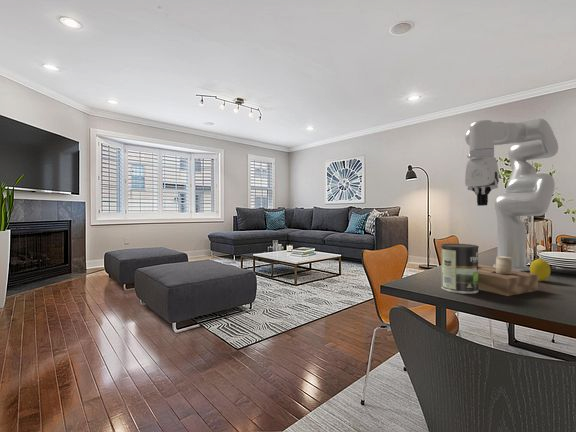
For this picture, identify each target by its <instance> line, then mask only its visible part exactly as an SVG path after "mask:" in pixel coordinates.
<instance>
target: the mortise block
mask: <svg viewBox="0 0 576 432" xmlns="http://www.w3.org/2000/svg"><path fill="white" fill-rule="evenodd" d="M538 282H539V281H538V274H532V273H530V272H527V271H514V270H512V275H508V276H506V275H501V274H496V267H493V266H489V265H483V264H478V290H480V291H485V292H490V293H493V294H498V295H502V296H506V297H509V296H510V297H511V296H515V295H521V294H526V293H533V292H537V291H538V289H539V288H538V287H539V286H538V285H539V284H538Z"/></svg>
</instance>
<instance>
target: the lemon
mask: <svg viewBox="0 0 576 432" xmlns="http://www.w3.org/2000/svg"><path fill="white" fill-rule="evenodd" d="M529 267H530V271H529V273H532V274H538V282H542V281H544V280H547V279H548V278H549V277H550V275H551V271H552V270H551V266H550V264H549V262H548V261H546V260H544V259H542V258H541V257H538V258H537V259H534V260H532V261H531V263H530V266H529Z"/></svg>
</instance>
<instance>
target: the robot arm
mask: <svg viewBox="0 0 576 432" xmlns="http://www.w3.org/2000/svg"><path fill="white" fill-rule="evenodd" d="M468 128H469V129H468V130H467V131H466V132H465V135H464V138H465V141H466V144H467V145H468V147H469V154H467V156H466V157H467V158H468V159H469V160H467V163H466V167H465V173H464V174H465V176H464V177H465V178H464V180H465V181H464V184H465V186H466V187H467V191H471V192H473V193H474V194H475V195H476V203H477V206H479V207H480V206H488V203H489V197H488V196H489V195H490V192H492V190H496V189H498V188H499V185H498V184H499V182H500V172H499V165H498V161H497V158H496V157H495V146H500V145H501V146H502V145H510V144H511V146H510V147H509V149H508V151H507V152H508V153H507V154H508V158H509V164H510V166H511V170H512V171H511V173H510V177H509V179H508V181H507V184H506V187H505V192H506V193H501V194H499V195H497V197H496V198H495V200H494V210H495V214H496V221H497V224H496V225H497V257H498V256H503V257H511V258H512V270H514V271H520V272H530V266H529V265H527V264H531V263H532V259H531V258H529V257H528V258H527V245H526V244H527V240H526V239H527V238H526V237H527V228H526V224H525V223H524V222H523V221H522V219H521V218H520V217H540V216H543V215H546V213H547V211H548V210H549V207H550V204H551V201H552V199H553V194H554V191H555V179H554V177H553V176H552V175H550V174H549V173H537V168H535V167H534V165H532V164H531V163H530V162H528V161H531V160H540V159H548V158H549V159H550V158H551V157H554V156H556V154H557V153H558V151H559V143H558V140H557V138H556V135H555V133H554V131H553V128H552V127H551V125H550V123H549V122H548V121H547V120H546V119H545V118H536V119H532V120H527V121H521V122H504V121H492V120H490V119H489V120H488V119H482V120H478V121H474V122H472V123H471V124H470V125H469V127H468ZM512 144H513V145H512ZM531 154H532V155H531ZM492 267H496V263H493V265H492Z"/></svg>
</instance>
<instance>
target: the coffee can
mask: <svg viewBox="0 0 576 432" xmlns="http://www.w3.org/2000/svg"><path fill="white" fill-rule="evenodd" d="M440 247H441V248H440V249H441V252H440V253H441V289H442V291H445V292H450V293H452V294H453V293H454V294H463V295H465V294H466V295H472V294H473V295H474V294H478V293H479V290H480V289H478V265H479V247H480V246H479V245H476V244H467V243H441V244H440Z"/></svg>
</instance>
